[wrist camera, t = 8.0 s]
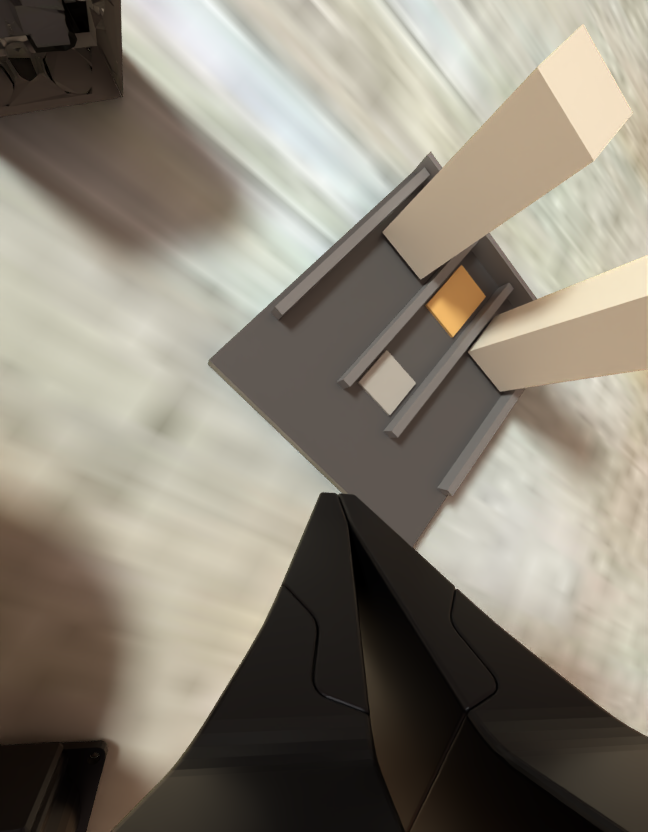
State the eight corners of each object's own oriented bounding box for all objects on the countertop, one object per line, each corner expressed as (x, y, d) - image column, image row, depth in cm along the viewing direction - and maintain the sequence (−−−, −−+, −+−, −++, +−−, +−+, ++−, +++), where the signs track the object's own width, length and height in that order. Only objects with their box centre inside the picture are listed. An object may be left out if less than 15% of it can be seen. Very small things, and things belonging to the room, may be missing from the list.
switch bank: (398, 547, 24) (424, 560, 21) (207, 364, 20) (210, 353, 17) (534, 350, 30) (568, 342, 27) (406, 180, 26) (430, 151, 23)
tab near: (420, 279, 24) (594, 160, 14) (382, 232, 23) (536, 67, 13) (451, 245, 25) (632, 112, 15) (416, 199, 24) (583, 23, 14)
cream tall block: (499, 391, 26) (703, 360, 16) (467, 351, 25) (660, 291, 15) (525, 355, 27) (730, 304, 17) (495, 315, 26) (692, 237, 16)
